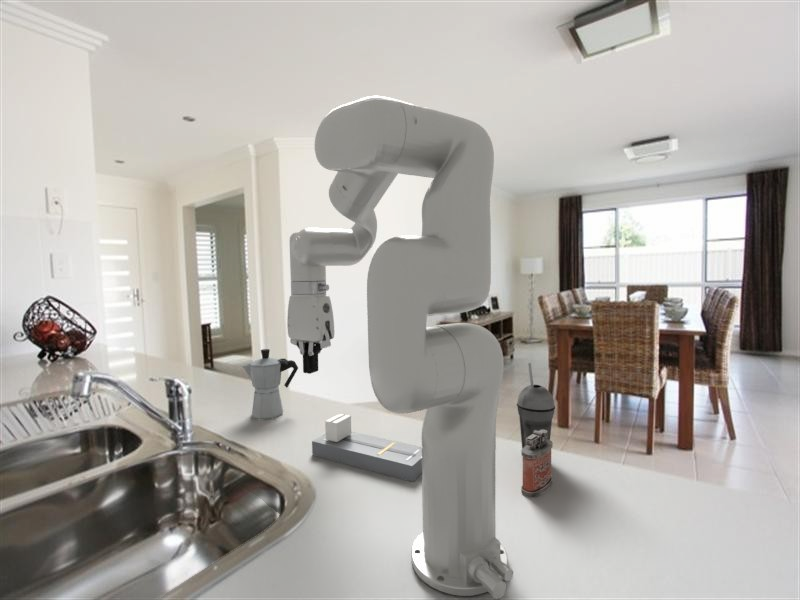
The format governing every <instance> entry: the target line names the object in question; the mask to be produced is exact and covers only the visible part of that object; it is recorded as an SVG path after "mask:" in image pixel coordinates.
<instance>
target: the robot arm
mask: <svg viewBox="0 0 800 600" xmlns="http://www.w3.org/2000/svg"><path fill="white" fill-rule="evenodd" d="M315 133H316V134H315V137H314V153H315V157H316V160H317V162H318V163H319V165H320V166H321V167H322V168H324V169H325V170H329V171H333V172H336V174H335V176H334V178H333V180H332V182H331V183H330V186H329V189H328V197H329V200H330V203H331V204H332V206H333V207H334V209H335V210H336V211H337V212H338V213H339V214H340V215H342V216H343V217H345V218H346V219H348V220H350V221H351V222H353V223H354V224H353V225H352V227H350V229H343V228H320V227H305V228H303V229H301V230H300V231H295V232H293V233H292V234H291V235H290V237H289V258H290V259H289V267H290V269H289V271H290V295H289V300H288V305H287V321H286V322H287V323H286V325H287V335H288V337H289V338H290V341H289V342H290V344H292V345H294V346H295V347H297V348H298V349H299V354H300V355H301V356H302V372H303V373H304V374H309V375H311V374H313V373H316V372H318V371H319V354H321V351H322V350H323V349H326V348H330V347H332V344H331V340H333V339H334V337H335V321H334V312H333V311H334V310H333V307H332V305H333V304H332V302H331V297H330V295H328V294H327V291H329V290H330V285H329V284H327V275H326V274H327V272H326V271H327V270H326V267H327V266H331V267H332V266H335V267H337V266H342V267H343V266H344V267H345V266H346V267H347V266H348V267H350V266H354V265H357V264H358V263H360V262H361V261H362V260H363V259H364V258H365V257H366V255H368V253H369V251H370V250H371V248H372V247H373V245H374V244H375V241H376V239H377V238H376V237H377V232H378V220H377V215H376V211H375V208H376V207H377V205H378V204H379V203H380V202H381V200H382V198H383V197H384V195H385V193H386V192H387V191H388V189H389V188H390V186H391V185H392V184H393V182H394V180H395V179H396V177H397V176H398V174H400V175H408V176H416V177H423V178H431V179H432V181H431V183H430V184H429V186H428V188H427V190H426V192H425V194H424V197H423V199H422V204H421V221H422V222H421V223H422V225H421V227H422V228H421V235H401V236H400V235H398V236H394V237H391V238H388V239H387V240H385V241H384V242H382V243H381V244H380V245H379V246H378V247H377V248H376V250H375V252H374V254H373V256H372V257H371V261H370V264H369V267H368V272H367V277H366V278H367V279H366V308H367V313H366V314H367V340H368V342H367V345H368V346H367V347H368V368H369V377H370V383H371V387H372V390H373V393H374V395H375V397H376V400H377V401H378V402H379V403H380V405H381V407H383V408H384V409H386V410H387V411H389V412H392V413H394V414H400V415H401V414H403V415H404V414H410V413H417V412H421V411H424V410H426V411H425V415H424V417H423V420H422V421H423V422H422V427H421V447H422V473H421V480H422V481H421V487H422V488H421V496H422V497H421V499H422V500H421V502H422V505H421V506H422V532H421V533H420V534H419V535H418V536H417V537H416V539H415V540H414V541H413V544H412V546H411V553H410V555H411V563H412V567H413V570H414V572H415V573H416V575H417V576H418V578H420V579H421V580H422V581H423V582H424V583H425V584H427V585H428V586H429V587H431V588H433V589H435V590H437V591H439V592H441V593H445V594H448V595H453V596H459V597H460V596H462V597H463V596H464V597H465V596H468V597H471V596H476V595H478V596H479V595H482V594H485V593H489V594H490V595H491V596H492V597H493V598H494V599H496V600H498V599H501V598H502V597H503V596H504V595H505V593H506V589H507V585H506V582H508V581H511V580H512V579H513V576H514V571H513V569H512V568H511V567H510V566H509V558H508V553H507V551H506V548H505V546H504V545H503V544H502V542H501V541H500V540H499V539H498V538H497V537H496V536H497V535H496V534H497V533H496V532H497V531H496V529H497V528H496V526H497V525H496V449H497V448H496V447H497V446H496V445H497V443H496V440H497V439H496V434H497V433H496V431H497V411H498V403H499V396H500V392H501V388H502V387H501V386H502V382H503V377H504V376H503V375H504V368H505V367H504V363H505V362H504V354H503V350H502V347H501V344H500V342H499V341H498V339H497V338H496V336H495V335H494V334H493V332H491V331H490V330H488V329H487V328H486V327H484V326H482V325H478V324H476V323H469V322H455V323H446V324H438V325H436V324H435V325H431V326H427V320H428V317H435V316H444V315H454V314H462V313H466V312H470V311H474V310H476V309H478V308H480V307H481V306H482V305H483V304H484V303H485V302H487V300H488V297H489V293H490V291H491V284H492V282H491V281H492V278H491V277H492V259H491V258H492V254H491V251H492V244H491V242H492V241H491V239H492V238H491V237H492V236H491V230H492V229H491V226H492V225H491V222H492V221H491V193H492V184H493V177H494V168H495V167H494V165H495V154H494V153H495V152H494V145H493V142H492V140H491V137H490V135H489V134H488V132H487V130H486V129H485V128H484V127H483V126H482V125H480V124H478V123H477V122H475V121H473V120H470V119H467V118H464V117H461V116H458V115H455V114H450V113H447V112H444V111H439V110H437V109H433V108H429V107H424V106H420V105H416V104H413V103H409V102H406V101H402V100H398V99H395V98H391V97H386V96H380V95H372V96H366V97H362V98H360V99H357V100H355V101H351V102H347V103H346V104H342V105H339V106H338V107H336V108H333V109H332V110H330V112H329V113H327V114H326V115H325V116H324V118H322V120H321V122H320V123H319V125H318V128H317V130H316V132H315ZM504 580H505V581H506V582H504Z"/></svg>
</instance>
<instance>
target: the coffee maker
mask: <svg viewBox="0 0 800 600" xmlns="http://www.w3.org/2000/svg"><path fill="white" fill-rule="evenodd" d="M270 351H271V350H270V349H269V348H263V349H261V350H260V353H261V358H259V359H257V360H253V361H251V362H249V363H246V364H244V365H243V364H242V365H241V366H240V367H241V368H243V369H244V371H245V372H246V373H247V375H248V377H249V378H250V380H251V384H252V385H251V386H252V387H253V388H254V394H253V400H252V401H253V402H252V410H251V419H255V418H256V420H259V419H260V420H259V421H261V419H263V420H270V419H272V418H273V419H275V417H276V418H278V417H280V415H281V416H283V415H284V406H283V403H282V397H281V392H280V388H279V386H280V385H281V380H282V372H285V371H286V370H288V369H291V368H292V371H291V373H290V375H288V378H287V379H286V381H285V383H284V384H283V385H284V387H285V388H288V387H289V385H290V384H291V382H292V380H293V378H294V377H295V375H296V373H297V372H298V370H299V367H298V365H297V363H296V361H294V360H288V359H286V358H279V359H278V358H273V357H270Z"/></svg>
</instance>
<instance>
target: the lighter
mask: <svg viewBox="0 0 800 600" xmlns="http://www.w3.org/2000/svg"><path fill="white" fill-rule="evenodd" d="M553 446H554V445H553V441H552V440H551V439H550V440H548V439H547V430H543V429H542V430H540V431H536V430H534V431H533V434H532V435H530V436H529V437H527V438H526V446H525V447H524V448H523V449H522V448H521V450H520V451H521V457H522V485H521V487H520V489H521V490H520V491H521V495H522V496H524V497H526V498H530V499H531V498H536V497H538V496H540V495H543V494H544V493H545V492H547V491H548V490H549V489H550V488H551V487H552V485H553V476H552V448H553Z"/></svg>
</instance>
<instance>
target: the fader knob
mask: <svg viewBox="0 0 800 600" xmlns="http://www.w3.org/2000/svg"><path fill="white" fill-rule="evenodd" d="M324 422H325V423H324V425H325V426H324V427H325V434H326V440H330V441H335V442H338V441H340V440H341V439H343V438H345V437H347V436H348V435H350V434H351V432H352V416H351V415H349V414H345V413H344V414H343V413H338V414H337V415H334V416H332V417H330V418H329V419H326V420H325V421H324Z"/></svg>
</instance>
